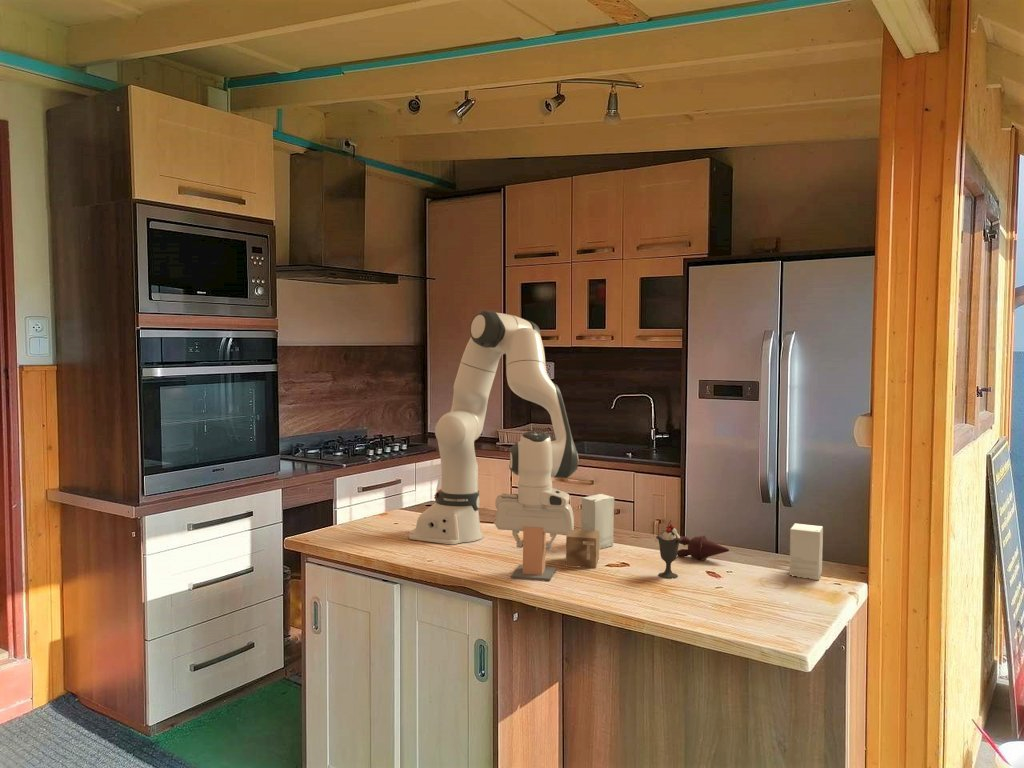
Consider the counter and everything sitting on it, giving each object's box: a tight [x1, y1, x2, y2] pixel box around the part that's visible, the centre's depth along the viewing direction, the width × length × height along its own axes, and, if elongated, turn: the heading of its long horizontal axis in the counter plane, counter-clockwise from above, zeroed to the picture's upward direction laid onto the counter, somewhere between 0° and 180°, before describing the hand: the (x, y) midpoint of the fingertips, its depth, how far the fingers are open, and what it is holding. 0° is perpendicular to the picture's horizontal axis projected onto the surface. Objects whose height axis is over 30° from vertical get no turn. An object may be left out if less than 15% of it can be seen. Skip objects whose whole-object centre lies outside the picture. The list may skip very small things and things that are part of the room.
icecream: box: [677, 535, 730, 562], centre depth 219 cm, size 7×7×15 cm
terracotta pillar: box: [522, 527, 547, 575], centre depth 204 cm, size 5×5×12 cm
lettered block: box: [565, 529, 600, 569], centre depth 214 cm, size 8×8×8 cm
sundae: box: [655, 519, 682, 580], centre depth 203 cm, size 7×7×15 cm
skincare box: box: [580, 493, 615, 550], centre depth 231 cm, size 8×6×15 cm
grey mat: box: [510, 564, 557, 582], centre depth 204 cm, size 10×10×1 cm
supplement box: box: [789, 523, 824, 581], centre depth 206 cm, size 7×7×13 cm
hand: (534, 548), depth 204 cm, fingers open, 6 cm apart
